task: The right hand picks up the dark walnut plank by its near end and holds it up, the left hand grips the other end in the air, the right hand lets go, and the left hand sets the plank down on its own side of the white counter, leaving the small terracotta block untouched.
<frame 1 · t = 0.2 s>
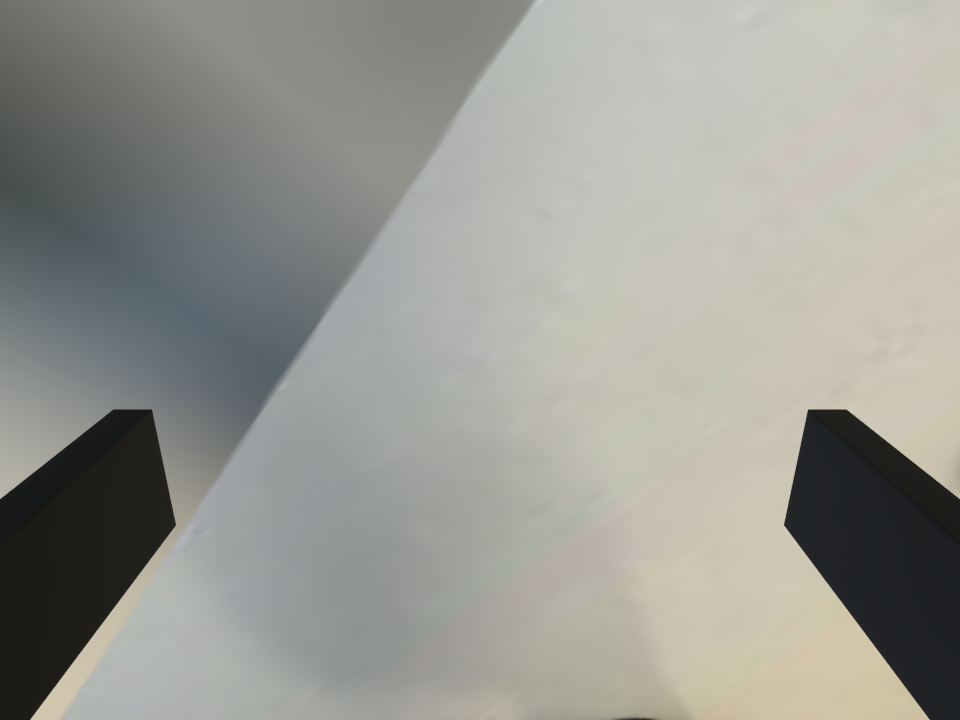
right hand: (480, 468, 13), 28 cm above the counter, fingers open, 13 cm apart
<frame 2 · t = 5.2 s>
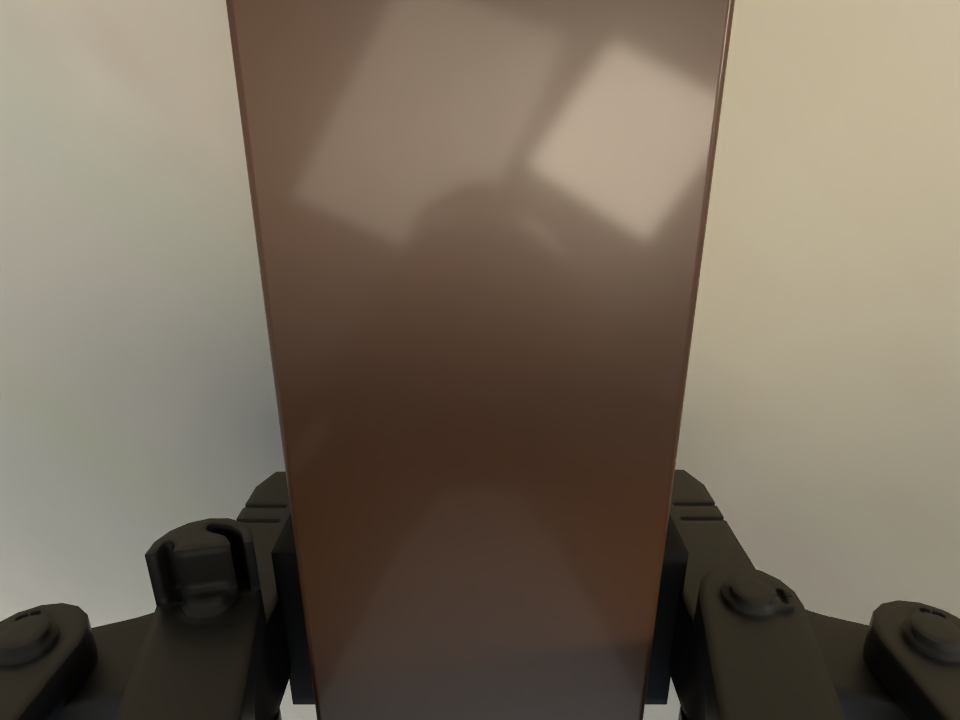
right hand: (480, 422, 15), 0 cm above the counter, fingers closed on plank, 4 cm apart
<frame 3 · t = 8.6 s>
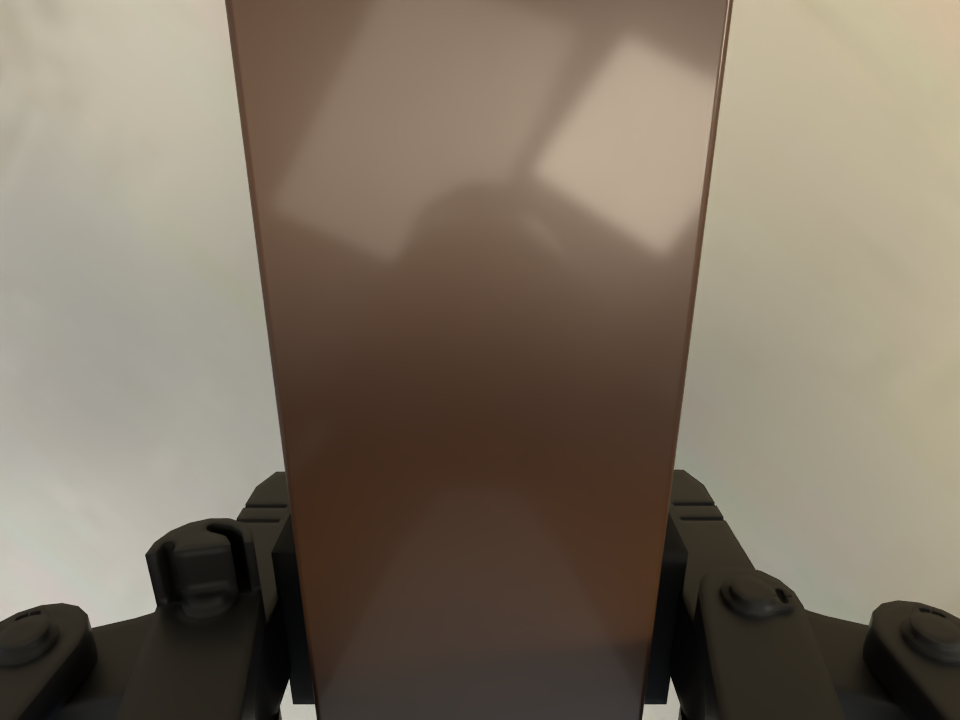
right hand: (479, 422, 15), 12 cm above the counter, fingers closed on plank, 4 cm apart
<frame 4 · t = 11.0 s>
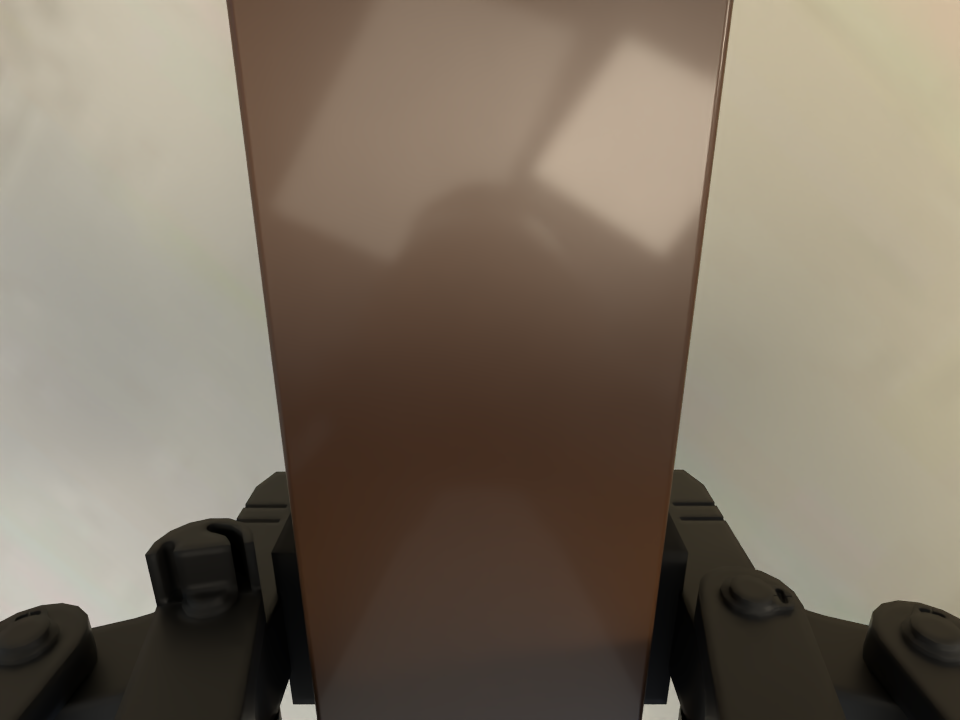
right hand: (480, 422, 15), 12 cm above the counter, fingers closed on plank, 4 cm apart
when the right hand's fingers open (12 cm above the counter, at t = 11.9 s): plank stays where it is, held by the left hand.
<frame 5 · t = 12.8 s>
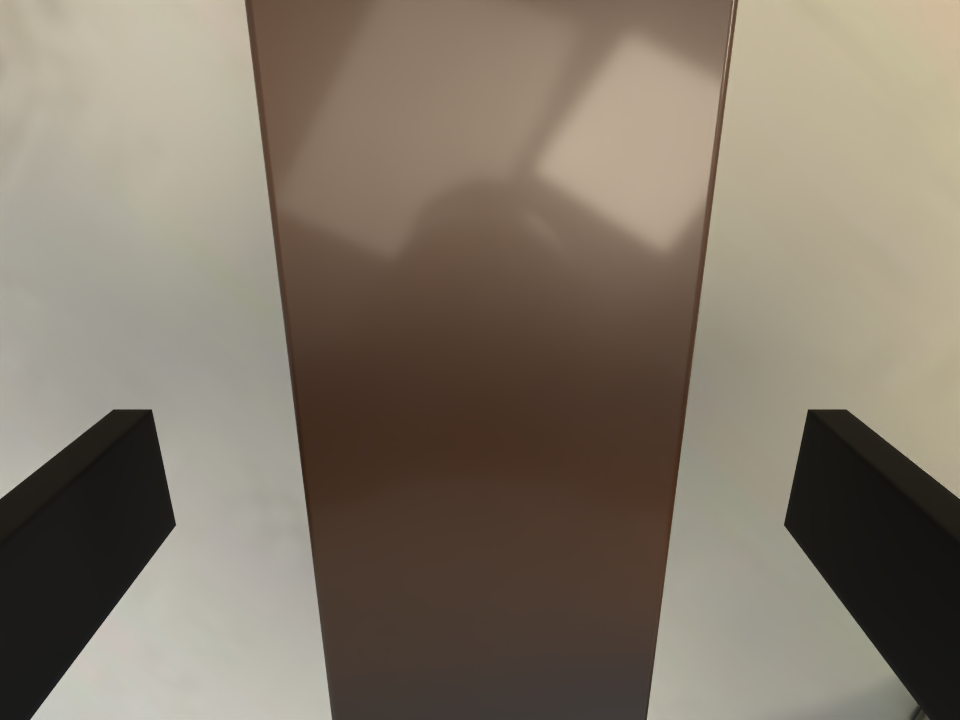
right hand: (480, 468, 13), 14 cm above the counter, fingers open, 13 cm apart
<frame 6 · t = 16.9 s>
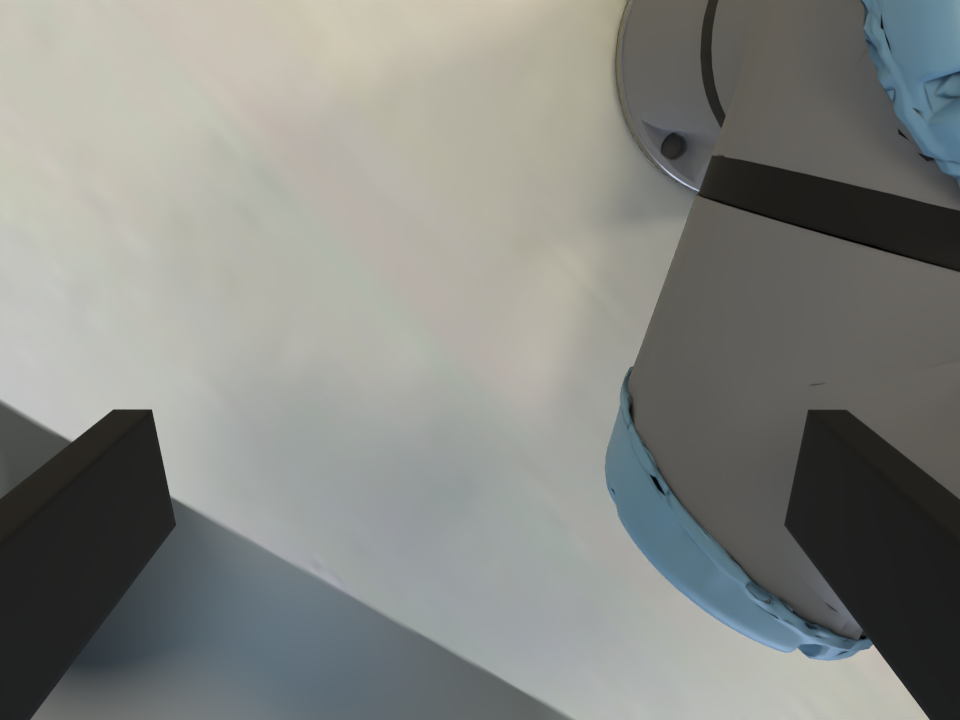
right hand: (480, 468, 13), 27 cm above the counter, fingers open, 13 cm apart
when the left hand's fingers open (5 cm above the counter, at t = 22.7 s): plank drops 1 cm, on the counter.
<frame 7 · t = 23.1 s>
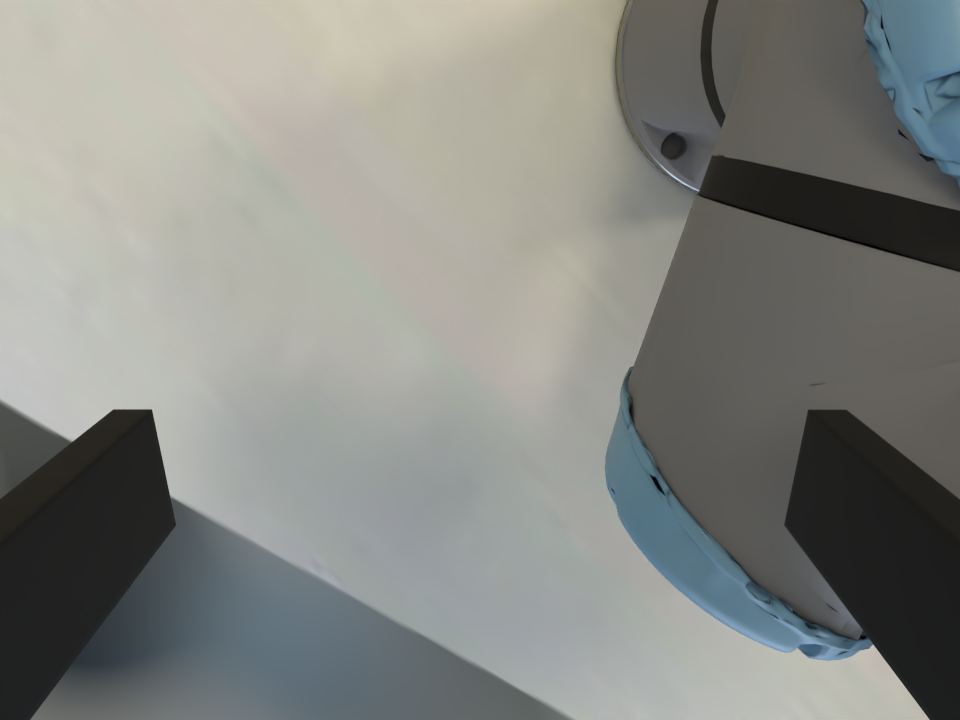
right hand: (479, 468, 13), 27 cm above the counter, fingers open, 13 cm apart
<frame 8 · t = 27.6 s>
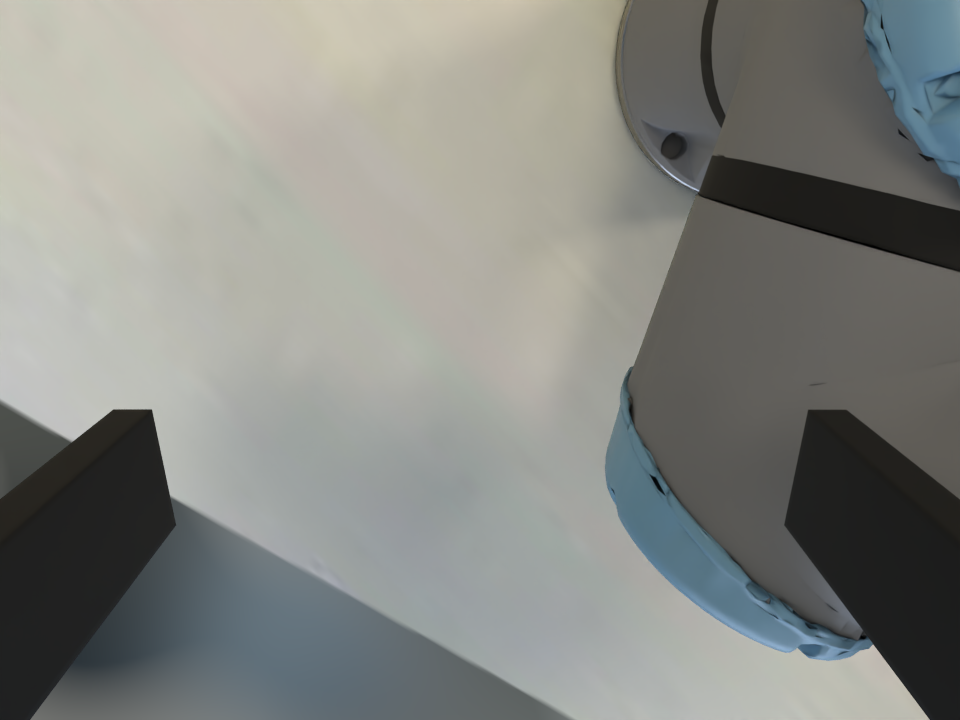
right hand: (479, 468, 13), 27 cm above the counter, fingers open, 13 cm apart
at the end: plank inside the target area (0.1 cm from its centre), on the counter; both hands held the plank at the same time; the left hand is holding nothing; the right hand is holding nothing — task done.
